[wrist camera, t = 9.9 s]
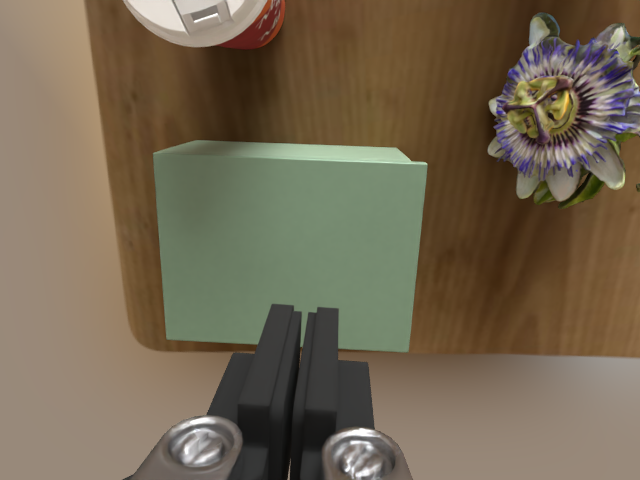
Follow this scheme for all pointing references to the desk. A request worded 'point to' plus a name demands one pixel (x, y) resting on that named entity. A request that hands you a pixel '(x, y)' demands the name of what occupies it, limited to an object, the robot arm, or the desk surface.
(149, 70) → the desk surface
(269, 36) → the paper cup
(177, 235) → the lid
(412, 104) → the desk surface
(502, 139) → the passion flower
